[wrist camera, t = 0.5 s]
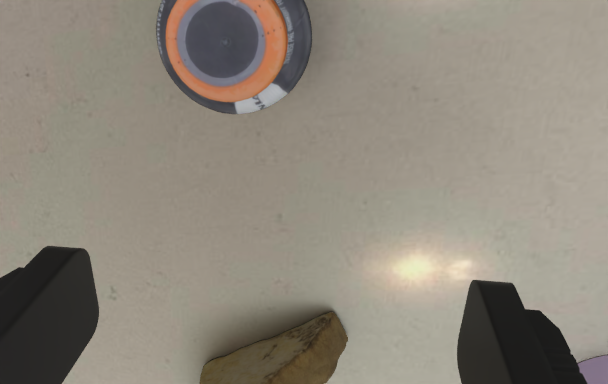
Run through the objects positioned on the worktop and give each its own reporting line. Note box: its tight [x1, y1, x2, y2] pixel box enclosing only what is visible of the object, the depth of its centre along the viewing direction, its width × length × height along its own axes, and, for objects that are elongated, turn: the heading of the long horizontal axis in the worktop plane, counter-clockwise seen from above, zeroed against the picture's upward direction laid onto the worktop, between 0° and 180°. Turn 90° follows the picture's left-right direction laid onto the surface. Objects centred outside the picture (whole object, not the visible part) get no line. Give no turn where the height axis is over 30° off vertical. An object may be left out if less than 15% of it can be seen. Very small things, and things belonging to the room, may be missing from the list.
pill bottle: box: [156, 0, 312, 114], centre depth 22 cm, size 6×6×11 cm
